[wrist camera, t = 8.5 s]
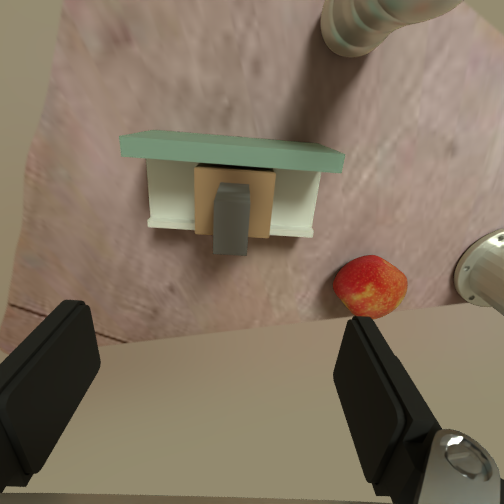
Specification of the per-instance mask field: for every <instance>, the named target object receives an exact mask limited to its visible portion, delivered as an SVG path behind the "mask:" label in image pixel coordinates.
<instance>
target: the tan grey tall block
mask: <svg viewBox="0 0 504 504" xmlns="http://www.w3.org/2000/svg"><path fill="white" fill-rule="evenodd" d="M275 179H276V173H275V172H274V170H273V168H265V167H252V166H239V165H226V164H213V163H199V164H198V165H197V166H196V167H195V168H194V197H195V234H203V235H213V254H223V255H241V256H247V245H248V237H254V238H269V234H270V225H271V216H272V207H273V197H274V188H275Z"/></svg>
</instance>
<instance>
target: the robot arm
mask: <svg viewBox="0 0 504 504" xmlns="http://www.w3.org/2000/svg"><path fill="white" fill-rule="evenodd" d="M454 284H455V288H456V290H457V292H458V293H459V295H460V296H461V297H462V298H464V299H465V300H466V301H467V302H469V303H471V304H473V305H477V306H482V307H493V308H494V309H496V310H497V311H498V312H500V313H501V314H502V315H503V316H504V228H503V229H500V230H497V231H494V232H492V233H490V234H488V235H486V236H484V237H483V238H481V239H479V240H478V241H477V242H476V243H474V244H473V245H472V246H471V247H470V248H469V249H468V250H467V251H466V252H465V253H464V255H463V256H462V258H461V259H460V261H459V263H458V265H457V267H456V270H455V274H454ZM100 363H101V361H100V355H99V350H98V345H97V340H96V335H95V330H94V325H93V320H92V316H91V311H90V307H89V306H88V305H85V302H84V301H79V300H64V301H62V302H61V303H60V304H59V305H58V306H57V307H56V308H55V309H54V310H53V311H52V312H51V313H50V314H49V315H48V316H47V317H46V318H45V319H44V320H43V321H42V322H41V323H40V324H39V325H38V326H37V327H36V328H35V329H34V330H33V331H32V332H31V333H30V335H29V336H28V337H27V338H26V339H25V340H24V341H23V342H22V343H21V344H20V345H19V346H18V347H17V348H16V349H15V350H14V351H13V352H12V353H11V354H10V355H9V356H8V357H7V358H6V359H5V360H4V361H3V362H2V363H1V364H0V504H390V503H375V502H374V503H373V502H355V501H335V500H307V499H305V500H304V499H274V498H242V497H241V498H240V497H204V496H201V497H200V496H163V495H119V494H117V495H115V494H66V493H2V492H3V490H4V489H5V487H6V486H18V487H26V486H27V484H28V482H29V480H30V479H31V477H32V475H33V474H36V473H38V472H39V471H40V470H41V469H42V467H43V465H44V464H45V462H46V460H47V459H48V457H49V455H50V454H51V452H52V450H53V448H54V447H55V445H56V443H57V442H58V440H59V438H60V436H61V435H62V433H63V431H64V429H65V428H66V426H67V424H68V423H69V421H70V419H71V417H72V416H73V414H74V412H75V411H76V409H77V407H78V405H79V404H80V402H81V400H82V398H83V397H84V395H85V393H86V392H87V389H88V388H89V386H90V385H91V383H92V381H93V380H94V378H95V376H96V374H97V373H98V370H99V368H100ZM333 379H334V383H335V386H336V389H337V393H338V395H339V399H340V402H341V405H342V408H343V411H344V414H345V417H346V420H347V423H348V427H349V430H350V433H351V436H352V439H353V441H354V445H355V448H356V451H357V454H358V457H359V460H360V464H361V467H362V469H363V473H364V476H365V478H366V480H367V482H368V483H372V485H373V488H374V491H375V494H376V496H390V497H391V499H392V502H393V504H504V480H503V479H501V478H500V473H499V469H498V467H497V465H496V463H495V461H494V459H493V458H492V457H491V455H490V454H489V453H488V451H487V450H486V449H485V448H484V447H482V446H481V445H480V444H479V443H478V442H477V441H475V440H474V439H472V438H471V437H470V436H468V435H466V434H464V433H462V432H460V431H456V430H452V429H442V428H441V426H440V425H439V423H438V422H437V420H436V418H435V417H434V415H433V414H432V412H431V410H430V409H429V407H428V405H427V404H426V402H425V401H424V399H423V397H422V396H421V394H420V392H419V391H418V389H417V388H416V386H415V384H414V383H413V381H412V380H411V378H410V376H409V375H408V373H407V371H406V370H405V368H404V367H403V365H402V364H401V362H400V360H399V359H398V358H397V356H395V355H394V354H393V352H392V350H391V349H390V347H389V345H388V344H387V342H386V340H385V339H384V337H383V336H382V334H381V332H380V331H379V329H378V327H377V326H376V324H375V322H374V321H373V319H372V318H371V317H367V316H354V317H353V318H352V320H348V322H347V325H346V328H345V332H344V336H343V339H342V343H341V346H340V350H339V354H338V358H337V361H336V364H335V368H334V372H333Z"/></svg>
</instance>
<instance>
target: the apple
mask: <svg viewBox="0 0 504 504" xmlns="http://www.w3.org/2000/svg"><path fill="white" fill-rule="evenodd" d="M333 289H334V292H335V293H336V295H337V296H338V297H339V298H340V299H341V301H342V302H343V303H344V304H345V306H346V307H347V308H348V309H349V310H350V311H351V313H352V314H354V315H355V316H367V317H371V318H372V319H377V318H380V317H383V316H385V315H387V314H389V313H390V312H392V311H393V310H394V309H396V308H397V307H398V305H399V304H400V303H401V302H402V300H403V299H404V297H405V294H406V291H407V278H406V276H405V275H404V274H403V273H402V272H401V271H400V270H398V269H397V268H396V267H395V266H393V265H392V264H390V263H389V262H387V261H386V260H384V259H382V258H381V257H378V256H375V255H367V256H362V257H359V258H356V259H354V260H352V261H350V262H349V263H347V264H346V265H345V266H344V267H343V268H342V269H341V270H340V271H339V272H338V273H337V275H336V277H335V279H334V282H333Z"/></svg>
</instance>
